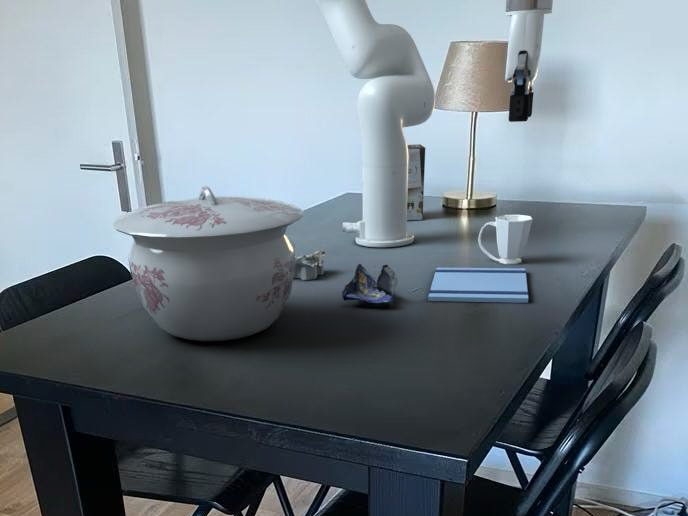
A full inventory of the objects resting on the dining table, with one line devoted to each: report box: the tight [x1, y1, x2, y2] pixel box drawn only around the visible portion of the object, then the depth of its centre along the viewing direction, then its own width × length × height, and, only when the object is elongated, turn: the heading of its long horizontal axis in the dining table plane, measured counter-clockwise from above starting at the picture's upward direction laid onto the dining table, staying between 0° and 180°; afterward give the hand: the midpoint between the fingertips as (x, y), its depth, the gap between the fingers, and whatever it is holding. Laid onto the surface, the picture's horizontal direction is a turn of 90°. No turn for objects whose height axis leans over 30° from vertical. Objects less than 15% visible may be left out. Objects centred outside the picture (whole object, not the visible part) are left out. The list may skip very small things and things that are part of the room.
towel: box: [427, 267, 529, 304], centre depth 138 cm, size 16×20×1 cm
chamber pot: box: [112, 185, 304, 343], centre depth 117 cm, size 28×28×21 cm
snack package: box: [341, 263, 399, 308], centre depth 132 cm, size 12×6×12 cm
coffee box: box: [407, 143, 426, 221], centre depth 192 cm, size 9×6×16 cm
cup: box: [477, 214, 534, 265], centre depth 151 cm, size 7×10×8 cm
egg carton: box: [293, 250, 326, 281], centre depth 149 cm, size 11×8×4 cm
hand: (520, 119), depth 140 cm, fingers open, 9 cm apart
